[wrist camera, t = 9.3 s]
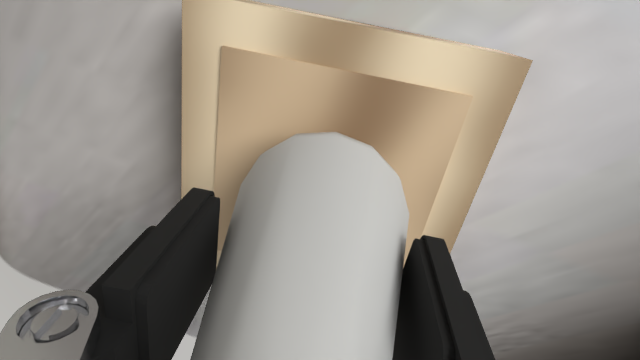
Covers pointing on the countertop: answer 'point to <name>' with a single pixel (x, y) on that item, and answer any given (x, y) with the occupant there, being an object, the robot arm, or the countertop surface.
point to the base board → (340, 102)
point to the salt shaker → (310, 257)
